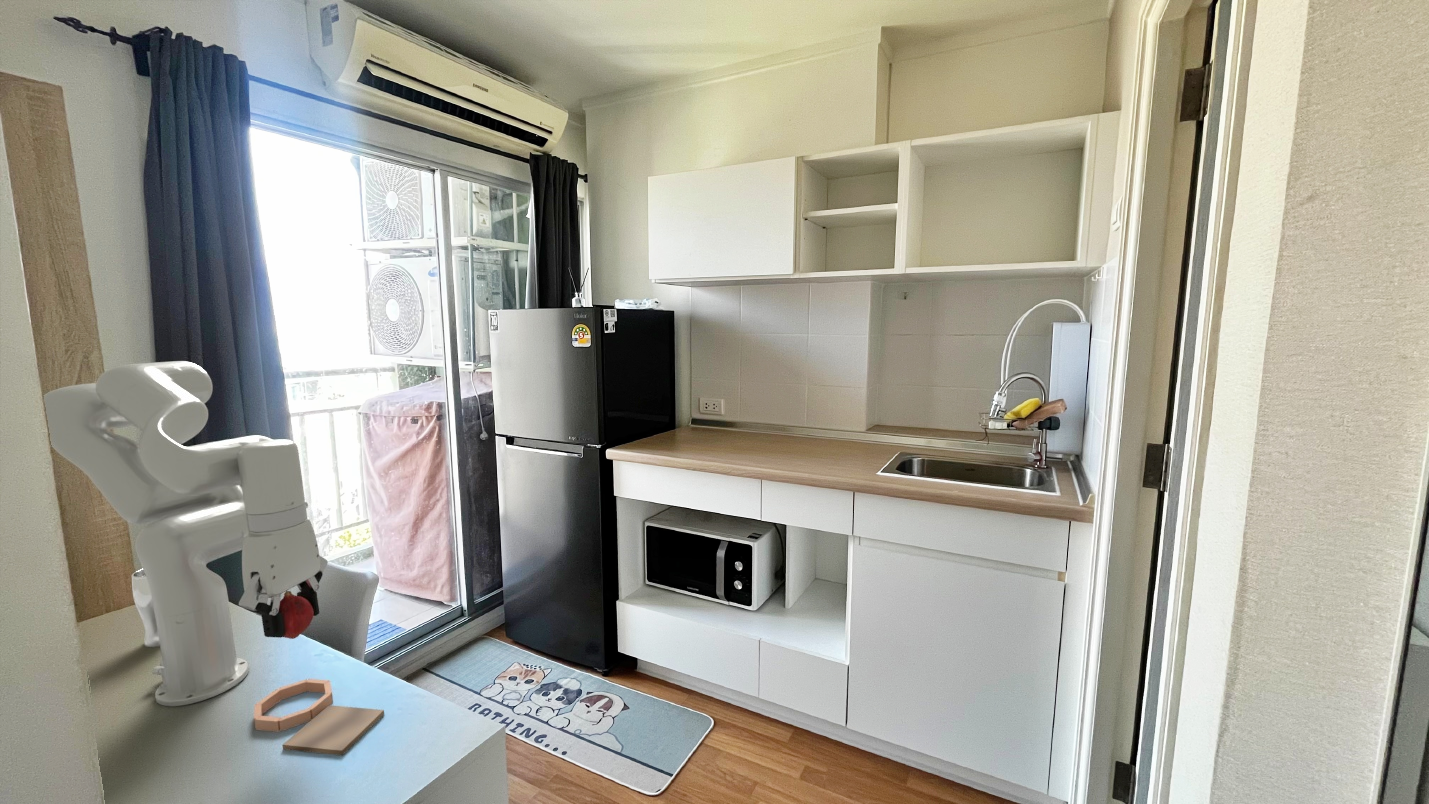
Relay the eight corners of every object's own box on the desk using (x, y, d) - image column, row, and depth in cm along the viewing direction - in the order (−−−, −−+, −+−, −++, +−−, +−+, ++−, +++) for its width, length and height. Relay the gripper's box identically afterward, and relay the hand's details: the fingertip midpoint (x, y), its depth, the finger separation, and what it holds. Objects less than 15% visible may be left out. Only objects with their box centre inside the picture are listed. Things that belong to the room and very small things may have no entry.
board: (282, 749, 87) (282, 744, 87) (329, 709, 96) (329, 705, 96) (342, 755, 86) (341, 750, 85) (384, 714, 94) (383, 709, 94)
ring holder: (238, 727, 92) (237, 717, 91) (293, 686, 102) (292, 677, 101) (296, 733, 90) (295, 723, 90) (346, 691, 100) (345, 681, 100)
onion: (324, 632, 94) (317, 587, 93) (286, 651, 89) (278, 603, 88) (302, 625, 97) (296, 581, 96) (264, 643, 92) (257, 596, 90)
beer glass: (183, 626, 122) (173, 560, 120) (192, 636, 118) (181, 568, 116) (138, 641, 117) (126, 572, 115) (145, 652, 113) (133, 581, 110)
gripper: (301, 501, 99) (315, 599, 102) (202, 538, 82) (221, 654, 85) (341, 501, 98) (353, 600, 101) (248, 539, 81) (266, 657, 84)
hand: (292, 624), depth 93 cm, fingers closed on onion, 5 cm apart
